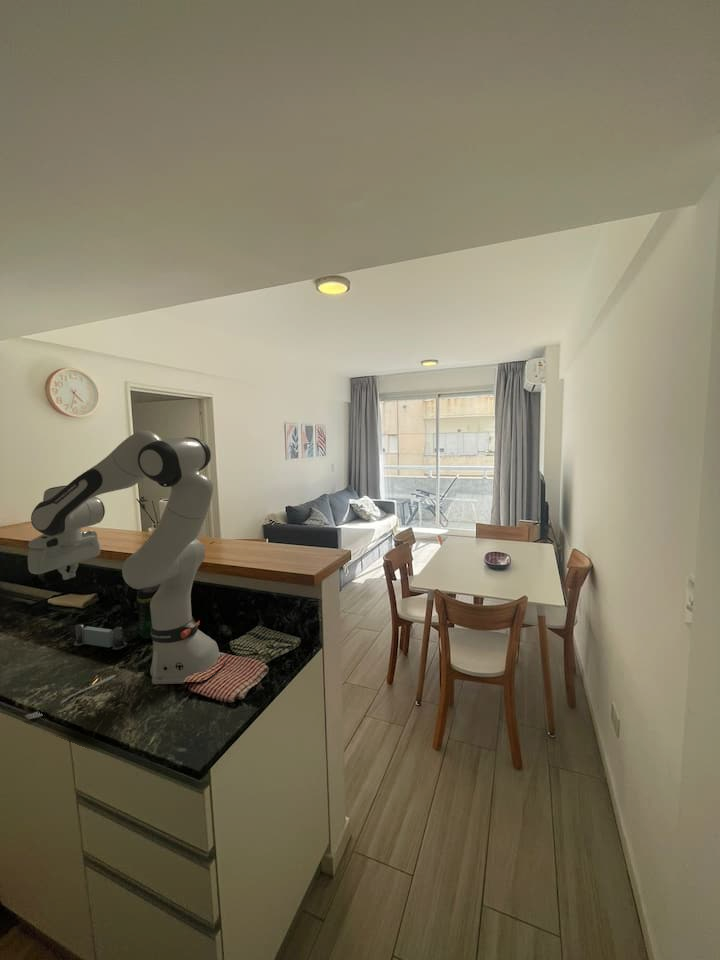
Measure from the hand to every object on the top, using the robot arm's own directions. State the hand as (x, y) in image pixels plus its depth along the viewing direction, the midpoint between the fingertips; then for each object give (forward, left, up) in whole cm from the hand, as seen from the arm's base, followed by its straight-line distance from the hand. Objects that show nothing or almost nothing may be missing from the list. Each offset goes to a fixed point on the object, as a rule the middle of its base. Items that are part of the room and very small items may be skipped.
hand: (69, 578), depth 121 cm
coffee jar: (-14, -18, -27) cm, 36 cm away
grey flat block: (0, -7, -27) cm, 28 cm away
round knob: (+8, -8, -27) cm, 29 cm away
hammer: (-7, -8, -27) cm, 29 cm away
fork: (-18, +15, -28) cm, 36 cm away
